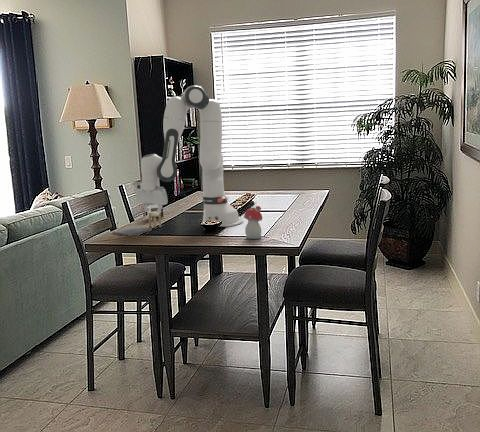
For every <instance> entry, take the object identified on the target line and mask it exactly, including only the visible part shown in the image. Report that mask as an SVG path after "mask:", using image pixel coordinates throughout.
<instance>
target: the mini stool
mask: <svg viewBox="0 0 480 432" xmlns="http://www.w3.org/2000/svg"><path fill="white" fill-rule="evenodd" d="M151 217H153V220H151ZM156 217H158V228H162V219H161V217H160V214H159V213H157V211H155V212H149V217H148V216H147V219H148V228H153V229H154V230H155V229H157V220H156ZM152 221H153V226H152Z"/></svg>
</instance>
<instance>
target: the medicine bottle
mask: <svg viewBox="0 0 480 432" xmlns="http://www.w3.org/2000/svg"><path fill="white" fill-rule="evenodd" d="M148 205H149V206H148ZM148 205H147V207H148V208H149V211H146V212H147V218H148V217H149V212H155V211H157V209H158V204H149V203H148ZM159 214H160V217H161V220H163V219H164V208H163V206H162V209H161V213H159ZM157 220H158V217H156V221H157ZM151 221H153V217H151Z"/></svg>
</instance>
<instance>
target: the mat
mask: <svg viewBox="0 0 480 432" xmlns="http://www.w3.org/2000/svg"><path fill="white" fill-rule="evenodd" d="M152 228H153V227H152ZM152 228H149V227H143V226H142V227H141V226H137V225H136V226H130V227H126V228H122V229H118V230H114V231H112V234H113V235H119V234H122V235H121V236H126V235H128V237H132V236H136V235H140V234H143V233H149V232H151V231H153V229H152Z"/></svg>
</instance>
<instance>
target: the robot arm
mask: <svg viewBox="0 0 480 432" xmlns="http://www.w3.org/2000/svg"><path fill="white" fill-rule="evenodd" d="M190 109H198V111H199V118H200V120H199V122H200V123H199V125H200V127H199V129H200V130H199V131H200V132H199V133H200V134H199V135H200V137H199V139H200V140H199V164H200V166H201V168H202V194H203V196H202V203H203V214H202V215H203V217H202V224H203V222H205V221H207V220H216V221H222V224H221V225H220V226H219V227H224V228H225V227H226V228H227V227H232V226H233V227H234V226H238V225H241V224H243V223H244V222H245V221H244V219H240V218H239V212H238V210H237V209H236V208H234V207H233V206H232V205H231V204H230V203H229V196H227V197H226V195H225V184H224V182H225V181H224V157H223V153H222V143H223V142H222V139H223V138H222V137H223V132H222V131H223V124H222V123H223V122H222V121H223V118H222V116H223V115H222V110H221V104H220V102H219V101H218V100H216V99H214V98H209V96H208V95H207V92H206V90H205V89H204V88H203V87H202V86H201V85H196V84H194V85H190V86H188V87H187V88H186V89H185V90H184V92H183V93H182V95H180V96H177V95H176V96H171V97H170V98H169V99H167V102H166V105H165V109H164V114H163V121H162V125H163V128H162V129H163V137H164V138H163V139H164V144H163V145H164V146H163V152H162V157H161V156H159V155H158V154H156V153H150V154H145V155H144V156H142V158H141V160H140V171H141V174H142V175H141V176H142V179H141V182H140V183H138V184H136V185H135V189H136V190H135V198H136V202H137V203H141V204H142V207H143V208H144V210H143V211H144V212H147V211H149V208H148V207H147V206H148V205H149V204H158V209H157V213H161V209H162V207H163V206H164V205H167V204H168V202H169V201H168V194H167V191H166V188H165V187H164V186H160V185H161V184H160V183H161V182H160V181H162V182H165V183H169V182H172V181H173V180H174V179H176V178H177V174H178V169H177V165H176V157H177V156H176V155H177V148H178V144H179V141H180V138H181V136H182V134H183V132H184V129H185V125H186V118H187V114H188V111H189V110H190ZM174 181H175V180H174Z"/></svg>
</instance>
